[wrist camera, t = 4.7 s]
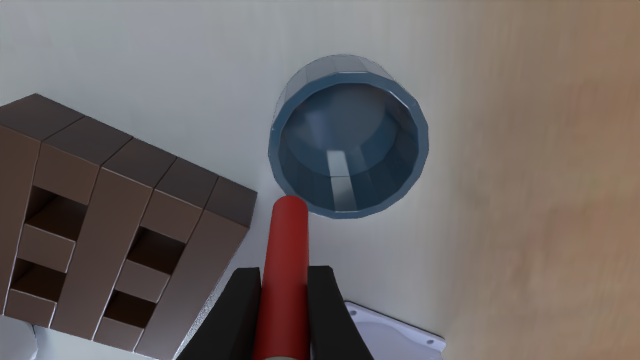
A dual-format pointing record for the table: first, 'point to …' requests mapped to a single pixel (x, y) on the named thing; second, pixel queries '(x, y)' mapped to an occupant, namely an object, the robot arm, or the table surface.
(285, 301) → the pencil
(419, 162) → the cup
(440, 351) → the robot arm
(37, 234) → the pencil stand
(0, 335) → the can
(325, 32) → the table surface
